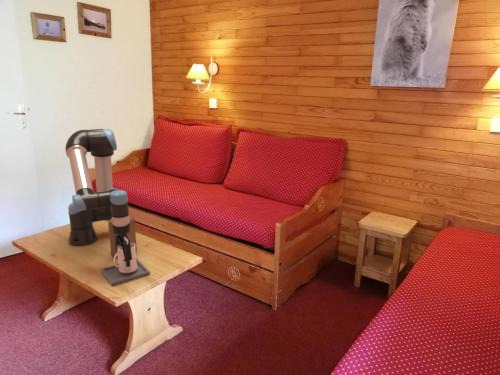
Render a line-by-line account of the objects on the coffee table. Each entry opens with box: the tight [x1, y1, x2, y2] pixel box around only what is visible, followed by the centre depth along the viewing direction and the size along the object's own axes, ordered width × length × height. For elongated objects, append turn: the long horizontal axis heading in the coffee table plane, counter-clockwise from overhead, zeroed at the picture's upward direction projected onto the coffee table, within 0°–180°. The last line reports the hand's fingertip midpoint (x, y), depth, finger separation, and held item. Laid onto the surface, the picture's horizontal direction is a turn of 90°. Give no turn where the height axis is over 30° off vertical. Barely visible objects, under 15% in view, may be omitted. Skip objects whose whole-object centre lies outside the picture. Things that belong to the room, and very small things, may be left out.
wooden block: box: [107, 215, 138, 258], centre depth 196 cm, size 10×10×20 cm
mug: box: [112, 243, 137, 273], centre depth 176 cm, size 12×8×12 cm
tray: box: [100, 258, 151, 287], centre depth 178 cm, size 16×18×2 cm
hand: (124, 268), depth 178 cm, fingers closed on mug, 8 cm apart
